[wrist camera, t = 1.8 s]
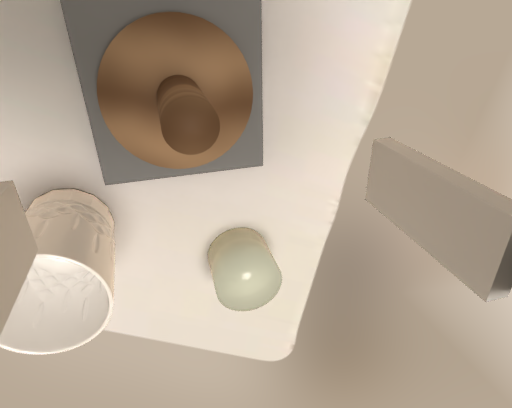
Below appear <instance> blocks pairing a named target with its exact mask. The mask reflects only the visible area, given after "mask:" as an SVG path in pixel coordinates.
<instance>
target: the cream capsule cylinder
mask: <svg viewBox="0 0 512 408" xmlns="http://www.w3.org/2000/svg"><path fill="white" fill-rule="evenodd" d="M208 262H209V266H210V270H211V274H212V278H213V282H214V286H215V290H216V294H217V297H218V299H219V301H220V302H221V303H222V304H223V305H224V306H225V307H227V308H229V309H231V310H235V311H250V310H254V309H257V308H259V307H261V306H263V305H265V304H267V303H268V302H269V301H270V300H272V299H273V298H274V297H275V295H276V294H277V293H278V291H279V289H280V286H281V283H282V275H281V271H280V269H279V267H278V265H277V263H276V262H275V260H274V258H273V256H272V254H271V252H270V250H269V248H268V246H267V244H266V242H265V240H264V239H263V237H262V236H261V235H260V234H259V233H258V232H256V231H255V230H252V229H249V228H234V229H230V230H228V231H226V232H224V233H222V234H220V235H219V236H218V237H217V238H216V239H215V240H214V241H213V242H212V244H211V246H210V248H209V251H208Z"/></svg>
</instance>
